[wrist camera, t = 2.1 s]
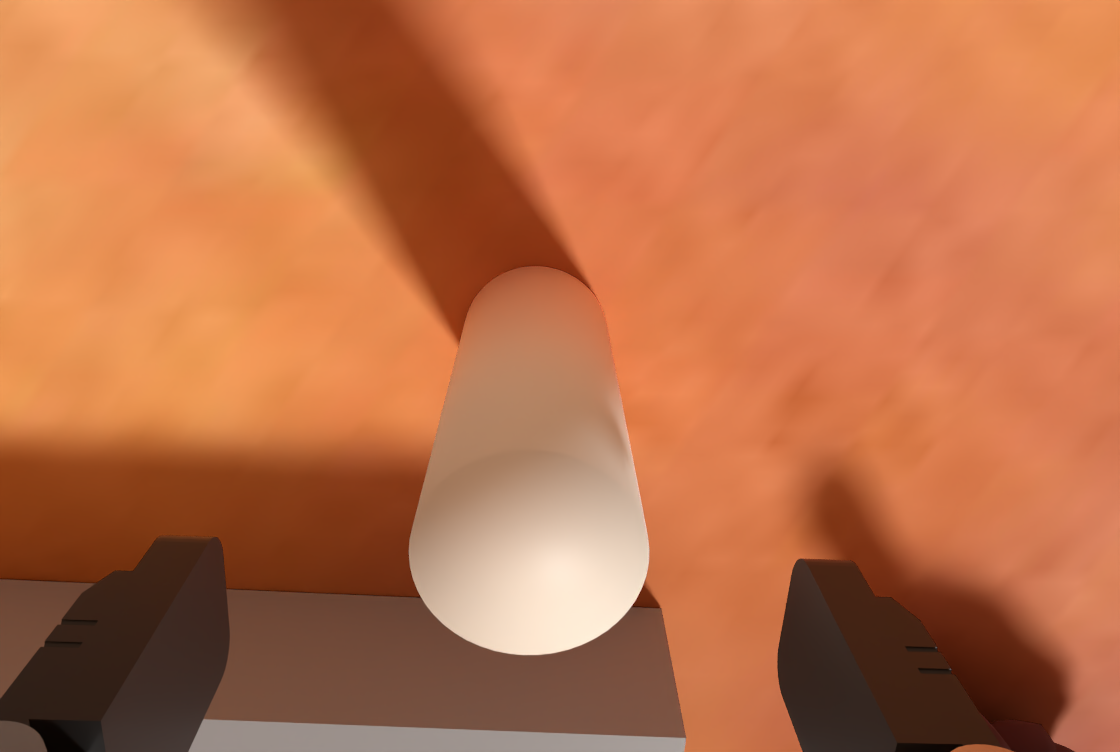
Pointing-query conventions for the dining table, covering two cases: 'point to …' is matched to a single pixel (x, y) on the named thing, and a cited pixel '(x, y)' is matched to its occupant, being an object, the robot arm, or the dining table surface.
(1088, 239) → the dining table surface
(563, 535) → the dowel
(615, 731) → the socket block
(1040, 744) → the icecream
